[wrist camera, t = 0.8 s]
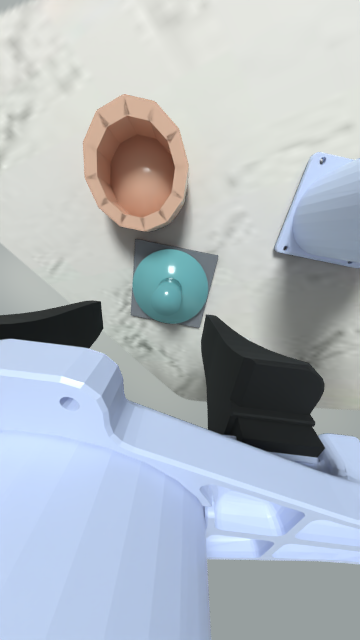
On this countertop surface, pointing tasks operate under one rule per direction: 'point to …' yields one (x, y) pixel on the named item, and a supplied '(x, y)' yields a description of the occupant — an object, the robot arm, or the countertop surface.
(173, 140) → the bowl
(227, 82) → the countertop surface
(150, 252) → the mat
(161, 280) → the lid
